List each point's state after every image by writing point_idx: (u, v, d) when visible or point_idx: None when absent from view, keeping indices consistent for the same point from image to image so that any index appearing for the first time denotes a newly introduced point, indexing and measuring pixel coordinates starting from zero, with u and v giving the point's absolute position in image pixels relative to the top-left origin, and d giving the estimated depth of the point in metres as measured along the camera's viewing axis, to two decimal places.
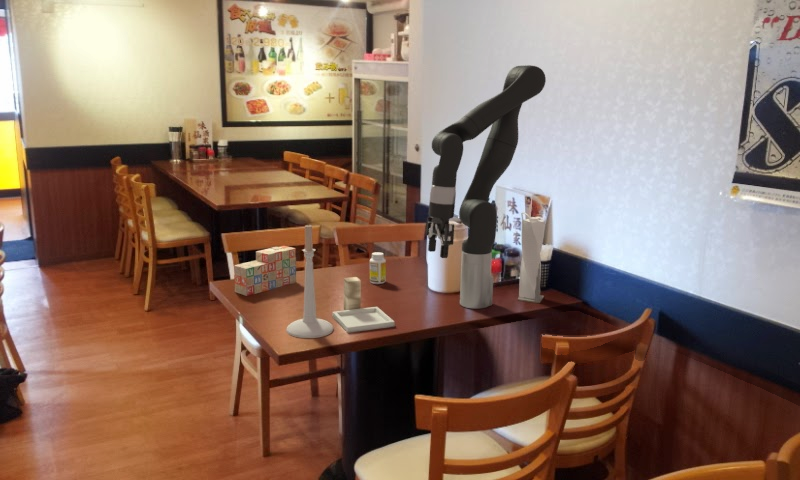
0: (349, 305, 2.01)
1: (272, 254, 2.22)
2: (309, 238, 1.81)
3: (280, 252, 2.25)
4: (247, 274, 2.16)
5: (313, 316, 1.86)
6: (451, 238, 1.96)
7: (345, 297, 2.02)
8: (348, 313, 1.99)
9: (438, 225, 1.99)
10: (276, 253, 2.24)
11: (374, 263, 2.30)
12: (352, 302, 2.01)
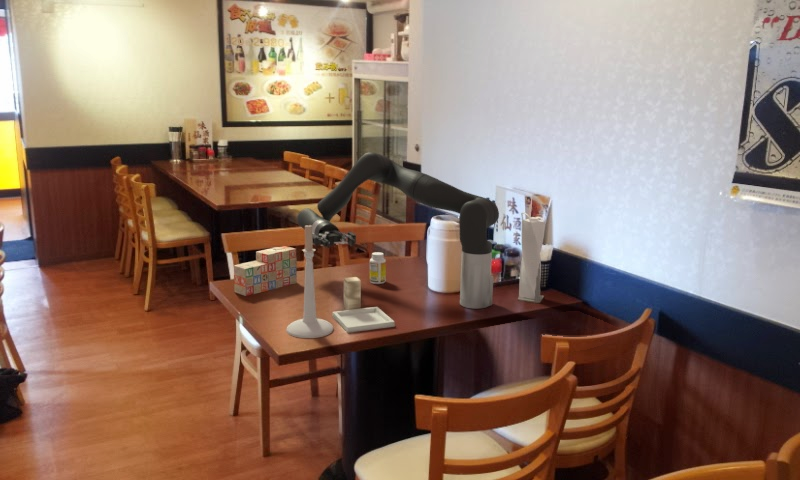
0: (349, 305, 2.01)
1: (272, 254, 2.22)
2: (309, 238, 1.81)
3: (280, 252, 2.25)
4: (247, 275, 2.15)
5: (313, 316, 1.86)
6: None
7: (345, 297, 2.02)
8: (348, 313, 1.99)
9: None
10: (276, 253, 2.23)
11: (374, 263, 2.30)
12: (352, 302, 2.01)
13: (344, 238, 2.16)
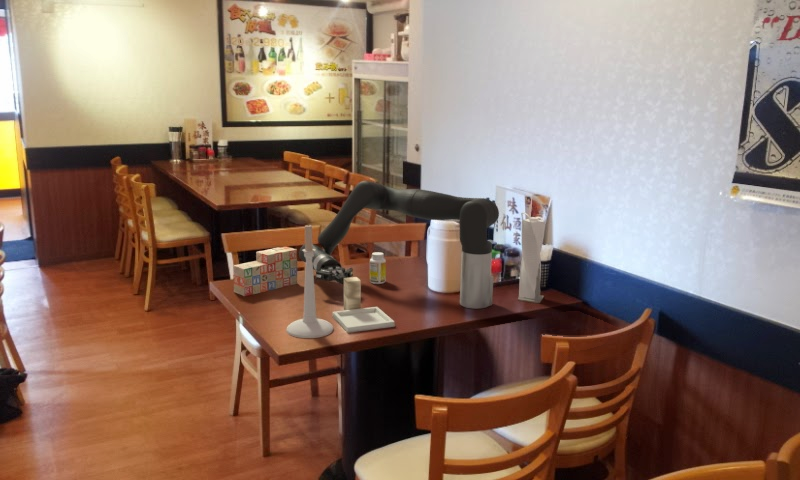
0: (349, 305, 2.01)
1: (272, 255, 2.21)
2: (309, 238, 1.81)
3: (280, 253, 2.24)
4: (245, 275, 2.15)
5: (313, 316, 1.86)
6: None
7: (345, 297, 2.02)
8: (348, 313, 1.99)
9: None
10: (276, 254, 2.23)
11: (374, 263, 2.30)
12: (352, 302, 2.01)
13: None
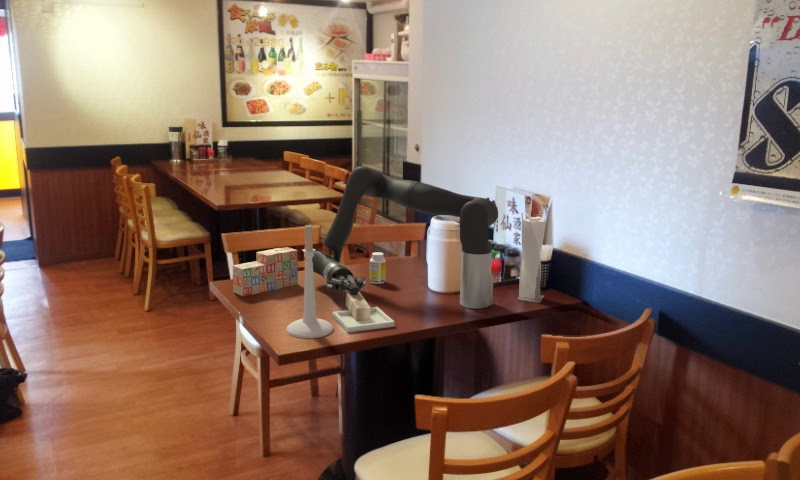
0: None
1: (271, 255, 2.21)
2: (309, 238, 1.81)
3: (280, 253, 2.23)
4: (244, 275, 2.15)
5: (313, 316, 1.86)
6: None
7: (350, 305, 1.98)
8: (348, 313, 1.99)
9: (339, 287, 2.08)
10: (276, 254, 2.22)
11: (374, 263, 2.30)
12: None
13: None
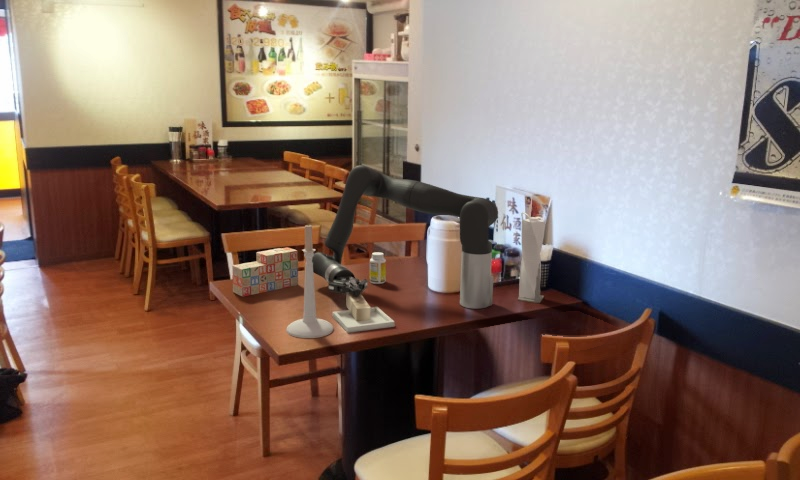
0: None
1: (271, 255, 2.20)
2: (309, 238, 1.81)
3: (280, 254, 2.23)
4: (243, 275, 2.15)
5: (313, 316, 1.86)
6: None
7: (350, 305, 1.98)
8: (348, 313, 1.99)
9: (341, 289, 2.06)
10: (276, 255, 2.22)
11: (374, 263, 2.30)
12: None
13: None
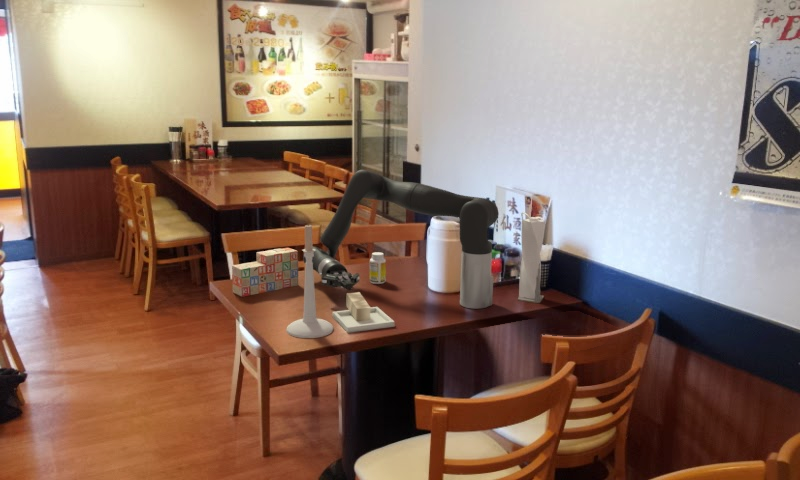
0: None
1: (271, 256, 2.20)
2: (309, 238, 1.81)
3: (280, 254, 2.23)
4: (243, 275, 2.15)
5: (313, 316, 1.86)
6: None
7: (350, 305, 1.98)
8: (348, 313, 1.99)
9: None
10: (275, 255, 2.21)
11: (374, 263, 2.30)
12: None
13: None
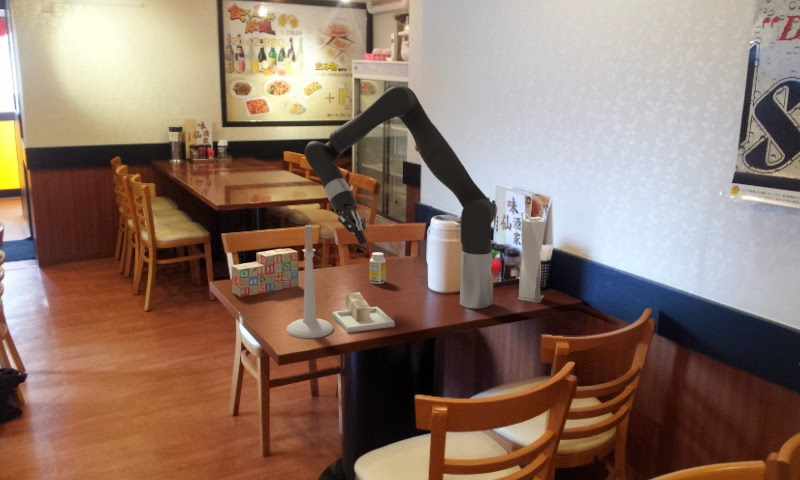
0: None
1: (270, 256, 2.19)
2: (309, 238, 1.81)
3: (280, 255, 2.22)
4: (241, 275, 2.14)
5: (313, 316, 1.86)
6: None
7: (350, 305, 1.98)
8: (348, 313, 1.99)
9: None
10: (275, 255, 2.21)
11: (374, 263, 2.30)
12: None
13: None
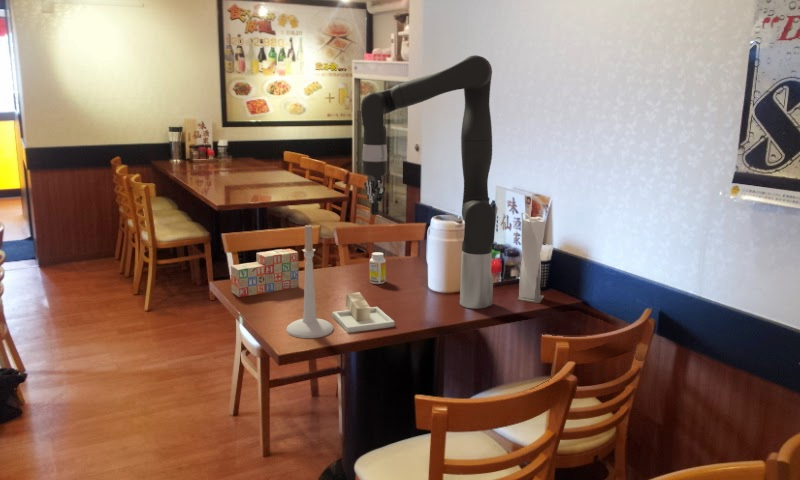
0: None
1: (270, 257, 2.19)
2: (309, 238, 1.81)
3: (279, 255, 2.21)
4: (240, 276, 2.14)
5: (313, 316, 1.86)
6: (380, 197, 2.08)
7: (350, 305, 1.98)
8: (348, 313, 1.99)
9: (372, 184, 2.07)
10: (275, 256, 2.20)
11: (374, 263, 2.30)
12: None
13: None
